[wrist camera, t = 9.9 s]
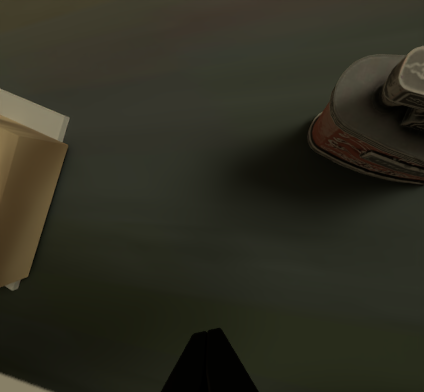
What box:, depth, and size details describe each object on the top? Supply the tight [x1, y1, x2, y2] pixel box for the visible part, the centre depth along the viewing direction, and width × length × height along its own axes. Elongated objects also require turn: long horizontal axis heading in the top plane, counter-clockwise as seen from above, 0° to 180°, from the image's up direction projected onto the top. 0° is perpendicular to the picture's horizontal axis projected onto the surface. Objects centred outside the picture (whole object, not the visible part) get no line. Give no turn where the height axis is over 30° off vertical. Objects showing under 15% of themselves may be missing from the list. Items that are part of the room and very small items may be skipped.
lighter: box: [307, 46, 424, 185], centre depth 11 cm, size 8×3×10 cm, turn 70°
